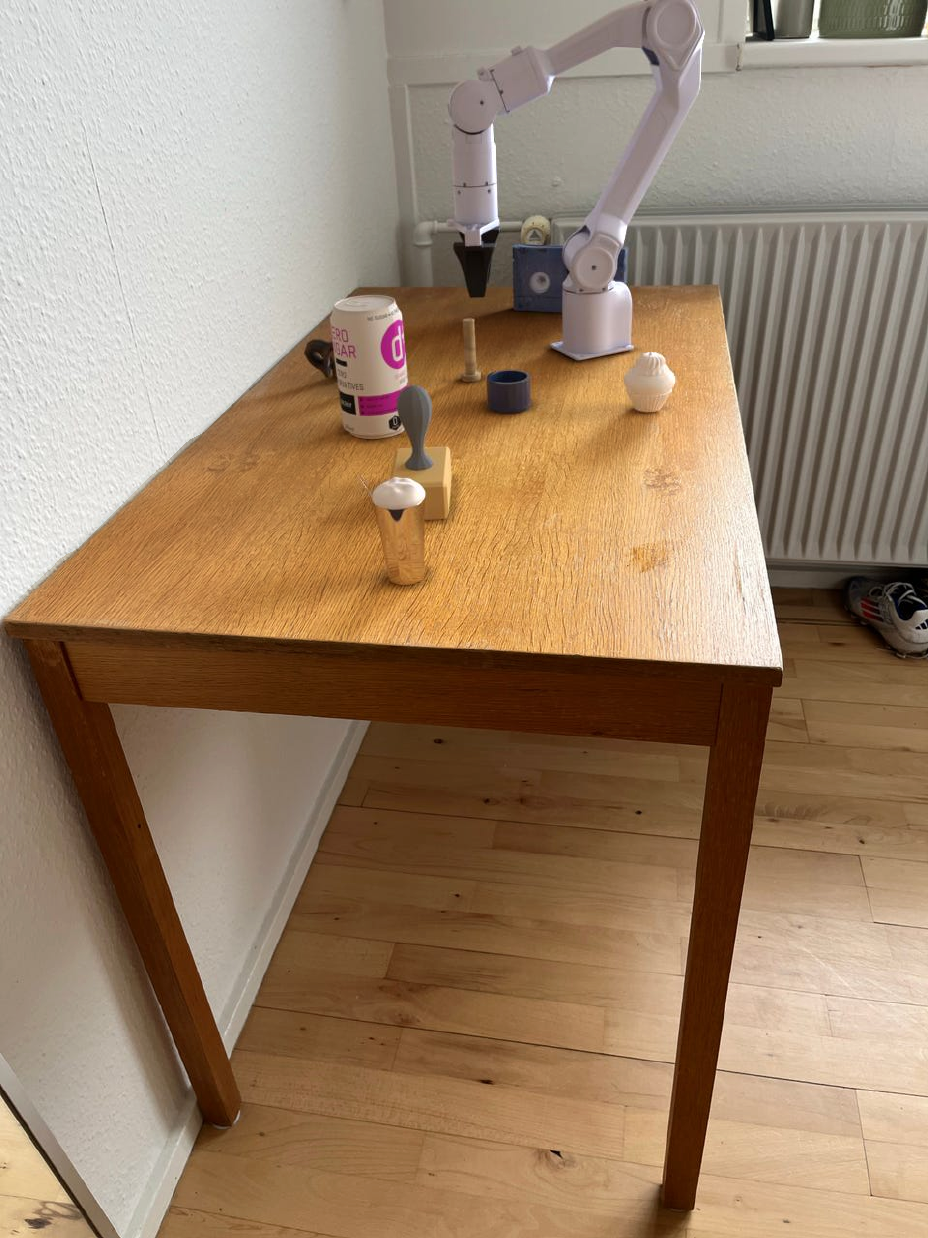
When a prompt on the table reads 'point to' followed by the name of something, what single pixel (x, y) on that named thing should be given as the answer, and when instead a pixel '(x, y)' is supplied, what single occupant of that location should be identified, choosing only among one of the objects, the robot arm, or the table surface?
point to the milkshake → (401, 528)
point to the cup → (508, 391)
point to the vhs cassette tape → (546, 276)
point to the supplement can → (369, 364)
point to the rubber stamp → (423, 453)
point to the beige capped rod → (470, 352)
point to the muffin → (649, 382)
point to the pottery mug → (326, 353)
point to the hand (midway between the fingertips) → (479, 289)
